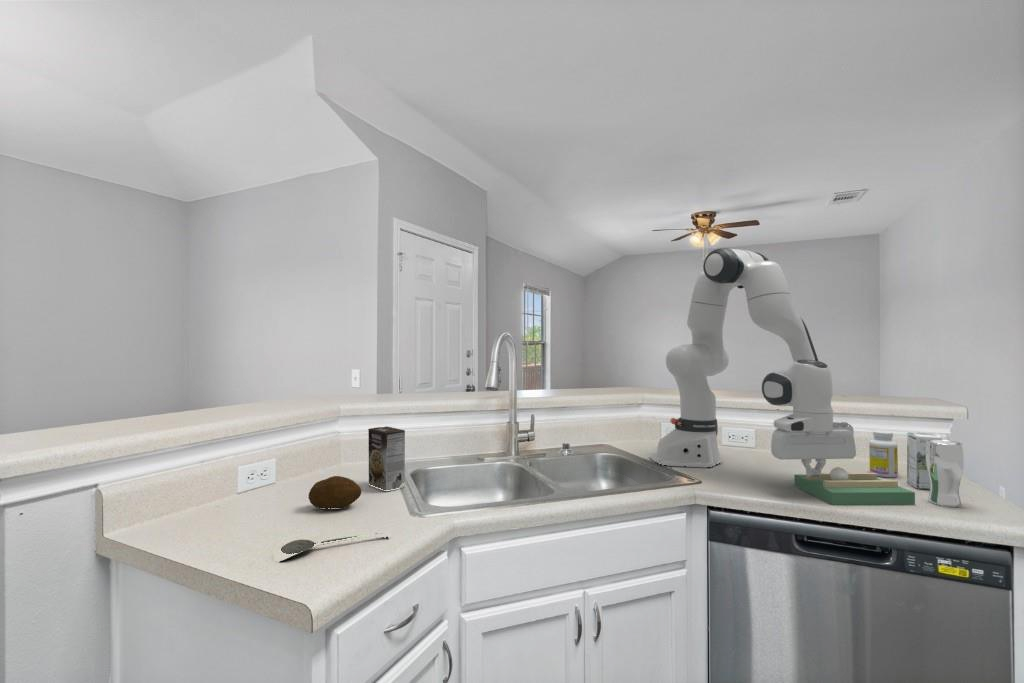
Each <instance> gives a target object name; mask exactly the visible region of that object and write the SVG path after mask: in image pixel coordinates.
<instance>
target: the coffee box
mask: <svg viewBox="0 0 1024 683" xmlns="http://www.w3.org/2000/svg"><path fill="white" fill-rule="evenodd" d="M367 430H368V485H369V484H370V485H373V486H375V487H378V488H381V489H383V490H391V489H396V488H399V487H400V485H401V484H402V483H404V482H405V480H406V479H405V477H406V476H405V474H406V473H405V471H406V469H405V468H406V464H405V463H406V460H405V459H406V458H405V456H406V452H405V451H406V438H405V437H406V431H405V430H406V429H401V428H397V427H391V426H383V427H382V426H380V427H370V428H368V429H367Z"/></svg>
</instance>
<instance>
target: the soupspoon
mask: <svg viewBox="0 0 1024 683" xmlns="http://www.w3.org/2000/svg"><path fill="white" fill-rule="evenodd" d="M375 534H378V533H377V532H375ZM357 536H358V535H354V536H348V537H347V536H346V537H341V538H333V539H328V540H327V539H326V540H324V541H320V542H321V543H324V542H330V541H336V540H342V539H347V538H352V537H357ZM314 542H315V541H312V540H310V539H296V540H292V541H290V542H288V543H286V544H284V545H283V546H281V547H282V548H281V547H280V548H281V551H282V552H283V553H286V554H292V553H293V554H294V553H299V552H301V551H304V552H306V551H308V550H311V549H313V548H314V547H313V546H314V544H316V543H317V542H315V543H314ZM312 547H313V548H312ZM310 548H311V549H310ZM305 550H306V551H305Z"/></svg>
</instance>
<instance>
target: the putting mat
mask: <svg viewBox="0 0 1024 683" xmlns="http://www.w3.org/2000/svg"><path fill="white" fill-rule="evenodd" d="M847 473H848V480H832V479H831V477H830V472H821V476H807V475H806V474H794V475H793V476H794V480H793V482H794V483H793V484H794V486H795V487H797V488H798V489H801V490H802V491H805V492H806V493H808V494H811V495H812V496H814V497H816V498H818V499H819V500H822V501H823V502H826V503H828V504H830V505H832V506H862V505H863V506H870V505H875V506H878V505H879V506H882V505H883V506H884V505H887V506H889V505H891V506H904V505H909V506H911V504H915V505H916V492H914V491H912V490H910V489H907V488H905V487H902V486H900V485H899V481H898V480H892V479H891V480H889V479H888V480H885V479H880V478H878V476H877V474H876V473H870V472H847Z"/></svg>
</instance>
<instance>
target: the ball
mask: <svg viewBox="0 0 1024 683" xmlns="http://www.w3.org/2000/svg"><path fill="white" fill-rule="evenodd" d="M829 473H830V477H831V479H832V480H848V473H849V472H848V471H847V470H846V469H845V468H843V467H840V466H839V467H838V466H836V467H833V468H832V469H831V470H830V472H829Z"/></svg>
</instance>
